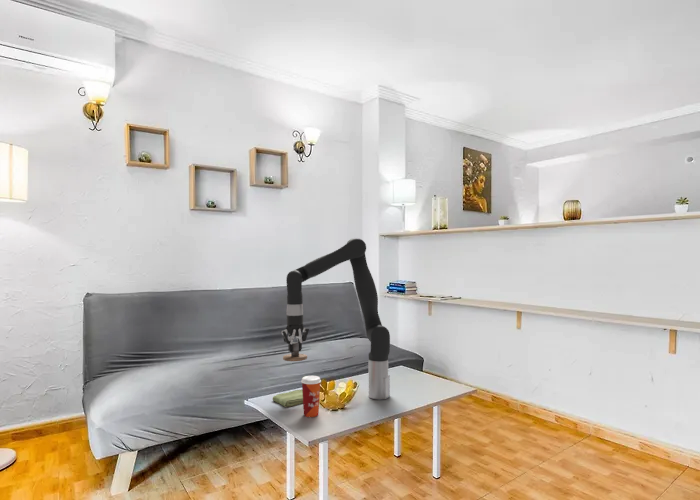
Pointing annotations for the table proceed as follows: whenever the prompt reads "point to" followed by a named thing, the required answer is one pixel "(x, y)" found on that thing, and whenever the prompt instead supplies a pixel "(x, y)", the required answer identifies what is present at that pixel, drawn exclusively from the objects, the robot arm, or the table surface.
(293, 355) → the walnut lid
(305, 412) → the coffee cup
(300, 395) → the washcloth
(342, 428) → the table surface
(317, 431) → the table surface
